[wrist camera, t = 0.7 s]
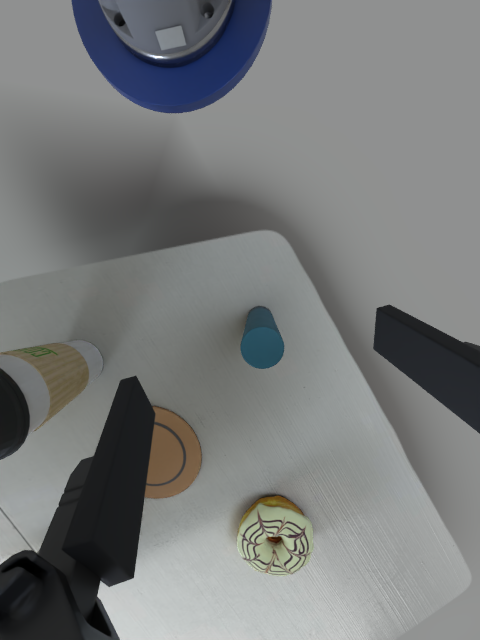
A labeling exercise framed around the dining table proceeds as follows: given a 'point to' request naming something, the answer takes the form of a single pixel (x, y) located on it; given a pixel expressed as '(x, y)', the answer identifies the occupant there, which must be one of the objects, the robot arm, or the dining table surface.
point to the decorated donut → (275, 537)
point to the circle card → (172, 456)
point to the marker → (261, 339)
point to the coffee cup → (41, 386)
